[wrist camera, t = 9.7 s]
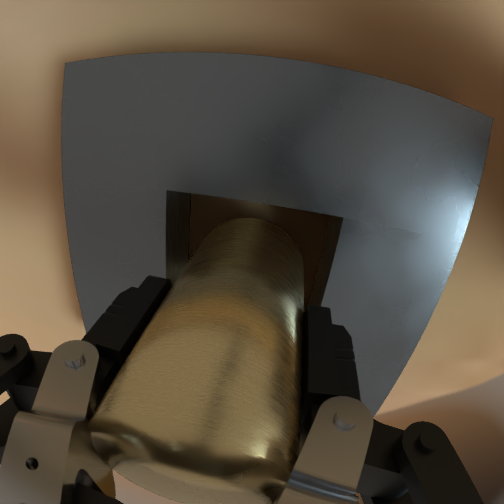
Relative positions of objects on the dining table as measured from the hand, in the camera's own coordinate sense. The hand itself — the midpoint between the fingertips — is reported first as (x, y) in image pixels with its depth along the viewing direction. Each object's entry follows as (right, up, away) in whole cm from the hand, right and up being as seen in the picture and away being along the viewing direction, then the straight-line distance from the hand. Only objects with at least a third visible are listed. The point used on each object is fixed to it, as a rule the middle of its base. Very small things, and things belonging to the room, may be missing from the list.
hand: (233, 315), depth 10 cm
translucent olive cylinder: (0, +1, +3) cm, 3 cm away
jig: (+1, +2, +5) cm, 5 cm away
